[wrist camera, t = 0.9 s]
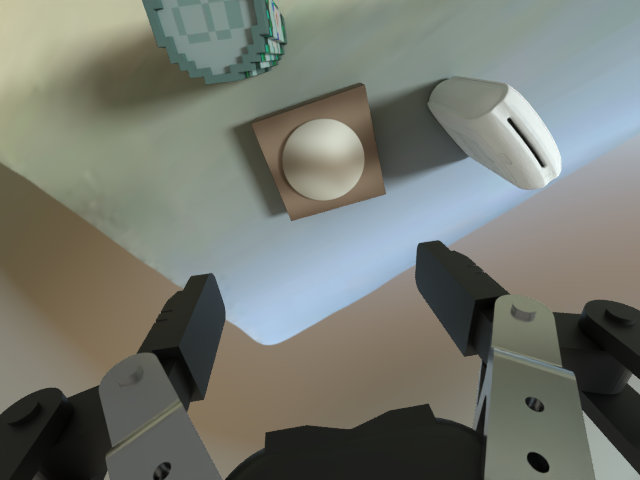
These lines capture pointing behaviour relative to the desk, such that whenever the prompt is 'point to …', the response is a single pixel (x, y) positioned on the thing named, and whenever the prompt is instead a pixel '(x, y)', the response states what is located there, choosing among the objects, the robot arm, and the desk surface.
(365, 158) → the base
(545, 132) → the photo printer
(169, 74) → the desk surface
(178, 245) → the desk surface
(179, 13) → the can
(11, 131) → the desk surface
